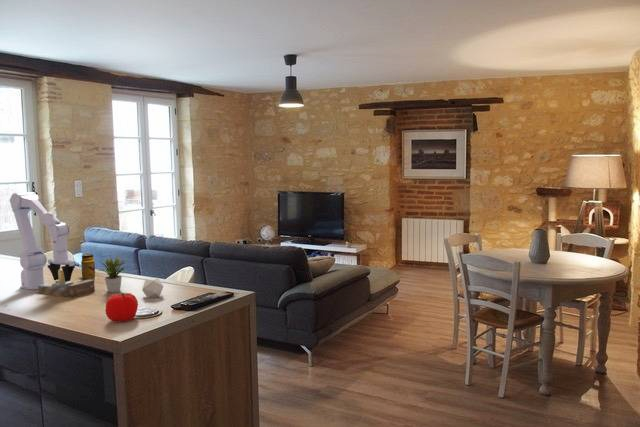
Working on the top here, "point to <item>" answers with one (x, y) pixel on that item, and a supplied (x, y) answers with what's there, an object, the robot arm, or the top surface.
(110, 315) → the tomato
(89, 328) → the top surface
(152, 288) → the die
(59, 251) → the robot arm
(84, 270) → the condiment
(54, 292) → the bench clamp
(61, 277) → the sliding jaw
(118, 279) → the house plant
